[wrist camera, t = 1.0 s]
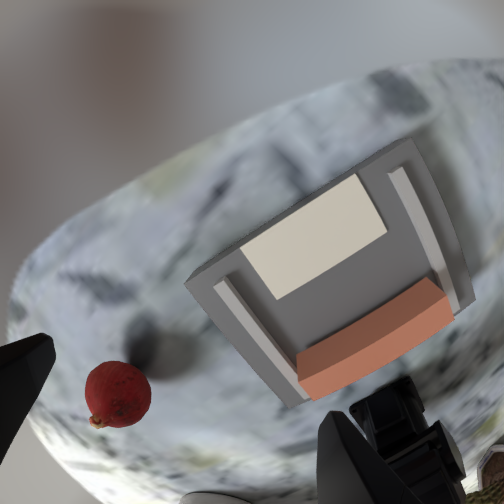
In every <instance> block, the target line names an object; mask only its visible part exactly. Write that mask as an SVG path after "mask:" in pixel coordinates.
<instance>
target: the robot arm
mask: <svg viewBox="0 0 504 504" xmlns="http://www.w3.org/2000/svg"><path fill="white" fill-rule="evenodd" d="M55 360H56V352H55V348H54V343H53V339H52V337H51V336H49V335H47V334H45V333H38V334H36V335H33V336H30V337H27V338H24V339H21V340H18V341H15V342H12V343H10V344H7V345H4V346H1V347H0V465H1V463H2V461H3V459H4V457H5V455H6V453H7V451H8V449H9V447H10V445H11V443H12V441H13V439H14V437H15V436H16V434H17V432H18V430H19V428H20V426H21V425H22V423H23V421H24V419H25V418H26V416H27V414H28V412H29V411H30V409H31V407H32V406H33V404H34V402H35V401H36V399H37V397H38V395H39V393H40V391H41V389H42V387H43V385H44V383H45V381H46V379H47V377H48V375H49V373H50V371H51V369H52V367H53V365H54V363H55ZM407 381H408V382H407ZM354 409H355V410H354ZM424 411H425V409H424V406H423V404H422V402H421V399H420V397H419V394H418V392H417V390H416V387H415V385H414V383H413V381H412V379H411V377H410V376H407V377H405V378H403V379H401V380H399V381H398V382H396V383H394V384H392V385H391V386H389V387H387V388H385V389H383V390H382V391H380V392H378V393H376V394H374V395H372V396H370V397H368V398H366V399H364V400H362V401H360V402H358V403H356V404H354V405H352V406H350V408H349V412H350V414H351V415H352V417H353V418H354V419H355V421H356V422H357V423H358V424H359V426H360V427H361V428H362V430H363V431H364V432H365V435H366V439H367V440H366V439H365V438H364V436H363V435H362V434H361V433H360V432H359V430H358V429H357V428H356V427H355V426H354V424H353V423H352V422H351V421H350V420H349V418H348V417H347V416H346V415H345V414H344V413H343V412H342V411H330V412H328V414H327V415H326V417H325V418H324V420H323V421H322V423H321V424H320V426H319V429H318V447H317V469H316V473H317V489H318V504H465V500H466V494H465V491H464V489H463V486H462V484H461V480H463V479H464V478H466V473H465V469H464V465H463V461H462V457H461V453H460V451H459V449H458V447H457V445H456V443H455V441H454V439H453V437H452V436H451V435H450V433H449V432H448V431H447V429H446V428H445V427H444V425H443V424H442V423H441V422H440V420H438V421H436V422H435V423H434V424H433V425H432V426H430V427H429V426H428V424H427V422H426V419H425V417H424V415H423V412H424Z"/></svg>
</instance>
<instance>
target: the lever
mask: <svg viewBox="0 0 504 504" xmlns="http://www.w3.org/2000/svg"><path fill="white" fill-rule="evenodd" d="M453 320H455V319H454V316H453V313H452V309H451V306H450V303H449V300H448V297H447V295H446V294H445V293H444V292H443V291H442V290H441V289H440V288H438V287H437V286H436V285H435V284H434V283H433V282H432V281H430V280H429V279H428V278H427V277H425V278H424V279H422V280H421V281H419V282H418V283H417V284H415V285H414V286H412V287H411V288H409V289H408V290H406V291H405V292H403V293H402V294H400V295H399V296H397V297H396V298H394V299H393V300H391V301H389V302H388V303H386V304H385V305H383V306H382V307H380V308H378V309H377V310H375V311H373V312H372V313H370V314H369V315H367V316H365V317H364V318H362V319H360V320H359V321H357V322H355V323H353V324H352V325H350V326H348V327H346V328H345V329H343V330H341V331H339V332H338V333H336V334H334V335H332V336H330V337H329V338H327V339H325V340H323V341H321V342H319V343H318V344H316V345H314V346H312V347H310V348H308V349H306V350H304V351H302V352H300V353H298V354H296V359H297V376H298V383H299V385H300V386H301V387H302V388H303V389H304V391H305V392H306V393H307V394H308V395H309V396H310V398H311V399H312V400H313V401H315V400H317V399H320V398H322V397H324V396H326V395H328V394H330V393H333V392H335V391H337V390H339V389H341V388H343V387H345V386H347V385H349V384H351V383H353V382H355V381H357V380H359V379H361V378H362V377H364V376H366V375H368V374H370V373H372V372H374V371H375V370H377V369H379V368H381V367H382V366H384V365H386V364H388V363H389V362H391V361H393V360H394V359H396V358H398V357H400V356H401V355H403V354H404V353H406V352H408V351H409V350H411V349H412V348H414V347H416V346H417V345H419V344H420V343H422V342H423V341H425V340H426V339H428V338H429V337H431V336H432V335H434V334H435V333H437V332H438V331H439V330H441V329H442V328H444V327H445V326H446V325H448V324H449V323H451V322H452V321H453Z"/></svg>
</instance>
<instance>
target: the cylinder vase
mask: <svg viewBox="0 0 504 504" xmlns="http://www.w3.org/2000/svg"><path fill="white" fill-rule="evenodd" d="M179 504H250V503H249V502H246V501H244V500H241V499H238V498H235V497H231V496H227V495H221V494H214V493H191V494H187V495H185V496H183V497H182V498H181V499H180V502H179Z"/></svg>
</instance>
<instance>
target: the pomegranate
mask: <svg viewBox="0 0 504 504" xmlns="http://www.w3.org/2000/svg"><path fill="white" fill-rule="evenodd" d="M85 398H86V402H87V405H88V407H89V410H90V411H91V413H92V415H93V416H91V417H90V418H89V421H90V424H91V426H93V427H95V428H97V429H99V428H103V427H107V426H110V427H115V428H121V427H126V426H130V425H133V424H135V423H137V422H138V421H140V420H141V419H142V417H143V416H144V415H145V413H146V412H147V411H148V409H149V407H150V403H151V387H150V385H149V383H148V381H147V379H146V377H145V375H144V374H143V373H142V372H141V371H140V370H139V369H138V368H136V367H134V366H132V365H131V364H128V363H124V362H120V361H108V362H103V363H102V364H100V365H99V366H97V367H96V368H95V369H93V370H92V371H91V372H90V374H89V376H88V377H87V381H86V386H85Z"/></svg>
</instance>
